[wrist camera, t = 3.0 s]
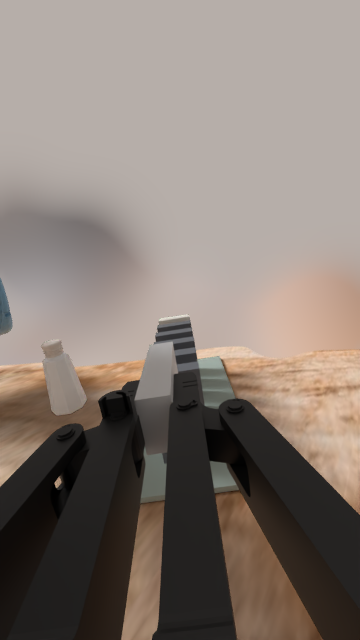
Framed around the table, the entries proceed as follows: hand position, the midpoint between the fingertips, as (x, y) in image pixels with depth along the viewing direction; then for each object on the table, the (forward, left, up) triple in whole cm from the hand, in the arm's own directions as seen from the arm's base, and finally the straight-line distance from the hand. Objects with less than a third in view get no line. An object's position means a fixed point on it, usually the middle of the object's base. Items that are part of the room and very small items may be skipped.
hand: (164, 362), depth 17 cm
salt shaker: (-27, -10, -15) cm, 32 cm away
